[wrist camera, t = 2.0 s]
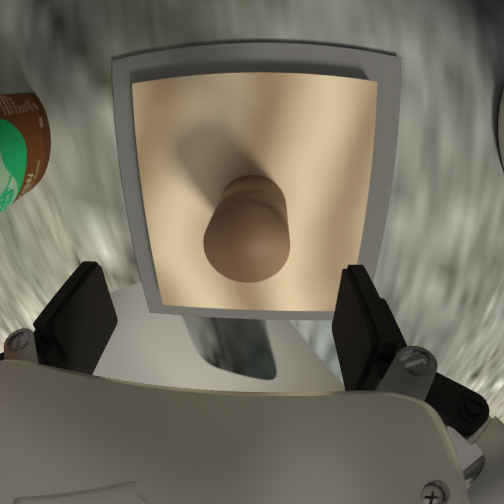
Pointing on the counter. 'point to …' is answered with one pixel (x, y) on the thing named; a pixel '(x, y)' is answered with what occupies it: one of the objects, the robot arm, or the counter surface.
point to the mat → (252, 61)
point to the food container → (22, 145)
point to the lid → (254, 185)
